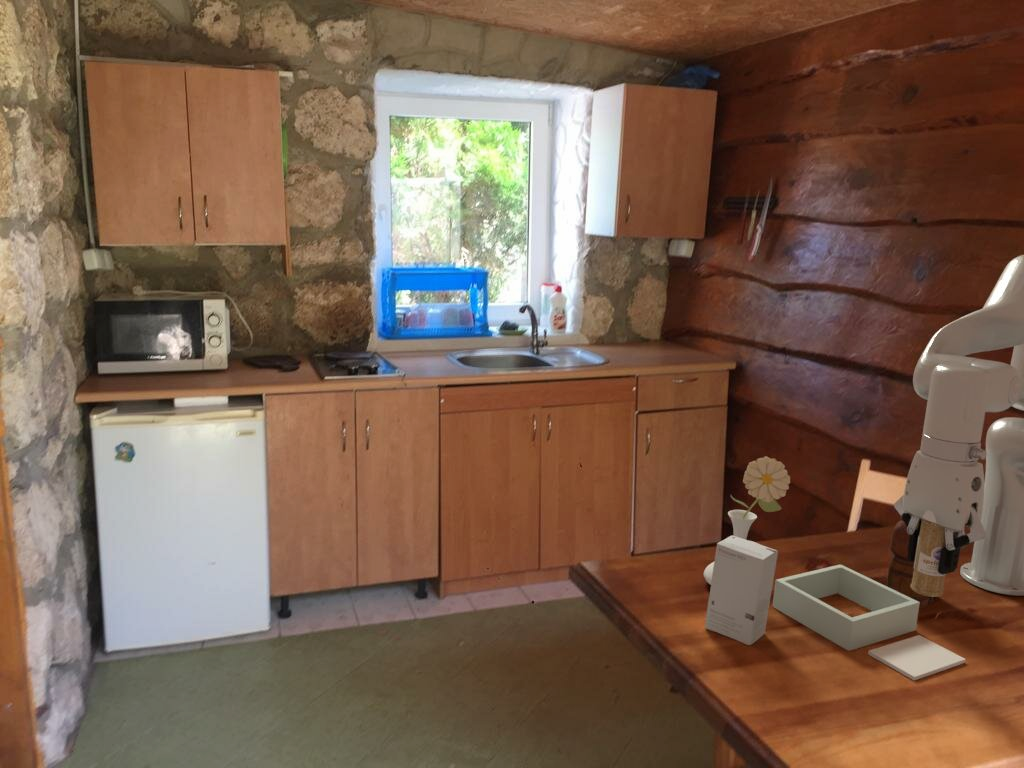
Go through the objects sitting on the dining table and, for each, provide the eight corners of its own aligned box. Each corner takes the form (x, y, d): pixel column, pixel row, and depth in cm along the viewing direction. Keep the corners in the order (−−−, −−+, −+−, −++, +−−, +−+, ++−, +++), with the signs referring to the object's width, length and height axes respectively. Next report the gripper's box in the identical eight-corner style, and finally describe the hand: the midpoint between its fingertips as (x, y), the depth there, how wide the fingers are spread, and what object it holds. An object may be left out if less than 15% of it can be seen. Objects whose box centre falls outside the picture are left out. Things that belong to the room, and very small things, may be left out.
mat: (918, 638, 134) (919, 635, 134) (965, 662, 128) (965, 659, 127) (868, 654, 129) (868, 650, 129) (914, 680, 122) (914, 676, 122)
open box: (836, 590, 151) (840, 564, 150) (915, 630, 137) (919, 602, 136) (772, 606, 143) (775, 579, 142) (848, 650, 129) (852, 621, 128)
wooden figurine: (914, 614, 142) (930, 515, 139) (878, 600, 147) (892, 504, 143) (944, 596, 150) (960, 502, 146) (909, 583, 155) (923, 491, 151)
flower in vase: (697, 592, 147) (710, 457, 142) (708, 568, 158) (720, 441, 152) (774, 608, 143) (790, 469, 137) (779, 582, 153) (795, 452, 148)
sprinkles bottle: (924, 599, 123) (937, 513, 120) (903, 585, 127) (915, 502, 125) (950, 597, 124) (964, 511, 121) (928, 583, 128) (941, 501, 126)
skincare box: (704, 629, 134) (712, 542, 131) (721, 616, 139) (729, 532, 136) (753, 648, 129) (763, 558, 126) (769, 634, 134) (779, 547, 131)
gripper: (1022, 462, 116) (1000, 584, 119) (914, 432, 130) (898, 541, 134) (989, 468, 112) (968, 593, 116) (882, 436, 127) (866, 548, 130)
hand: (930, 564), depth 125 cm, fingers closed on sprinkles bottle, 4 cm apart
